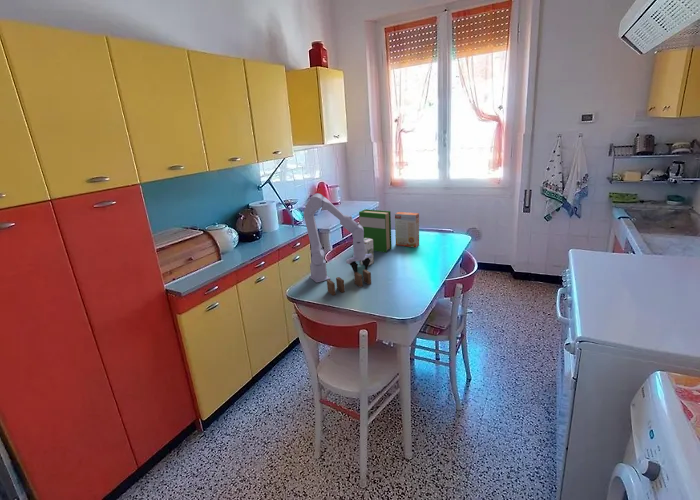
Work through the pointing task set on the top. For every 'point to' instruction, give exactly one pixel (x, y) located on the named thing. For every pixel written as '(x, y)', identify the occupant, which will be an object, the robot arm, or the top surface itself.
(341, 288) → the tile
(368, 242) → the syrup box
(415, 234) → the cracker box
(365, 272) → the tile
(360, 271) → the teal tile
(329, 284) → the tile
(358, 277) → the tile
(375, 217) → the hardback book
